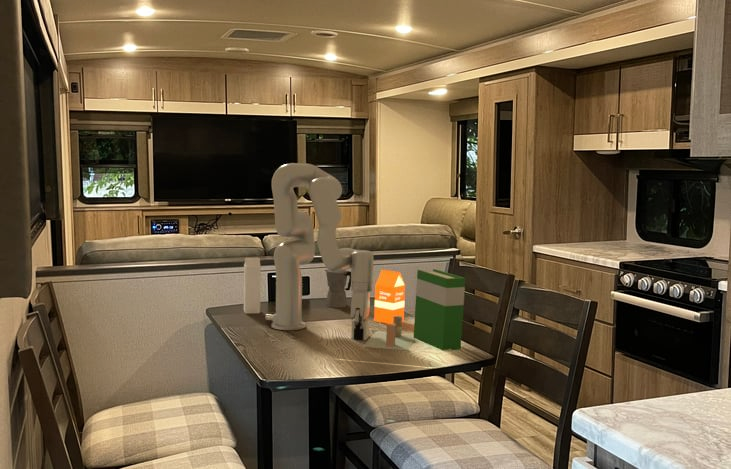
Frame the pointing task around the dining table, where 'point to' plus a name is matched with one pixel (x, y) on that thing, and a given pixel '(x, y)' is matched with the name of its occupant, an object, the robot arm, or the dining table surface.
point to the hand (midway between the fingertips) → (360, 337)
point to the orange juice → (389, 297)
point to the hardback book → (439, 309)
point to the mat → (380, 341)
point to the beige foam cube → (365, 328)
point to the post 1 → (391, 335)
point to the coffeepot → (337, 288)
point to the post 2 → (398, 325)
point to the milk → (252, 285)
